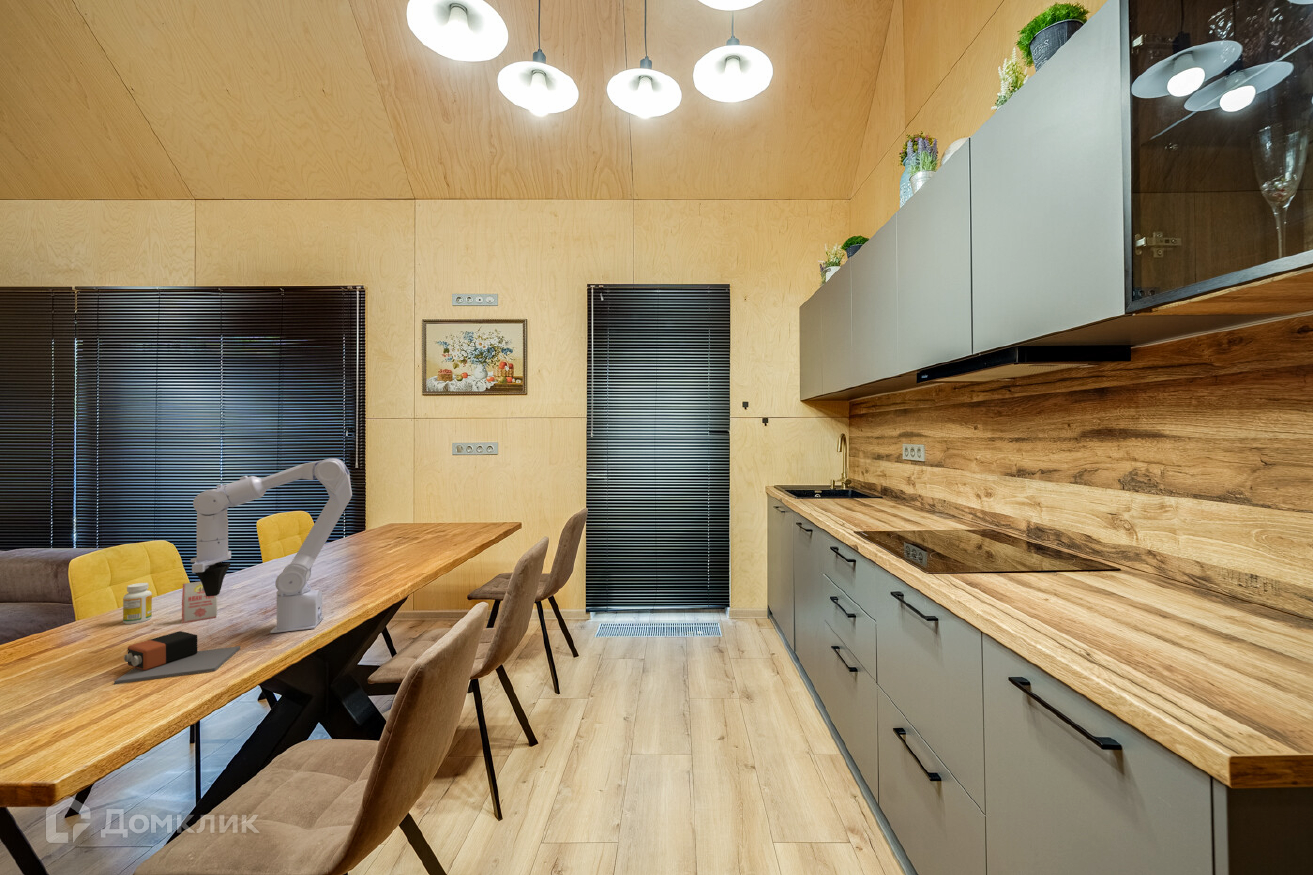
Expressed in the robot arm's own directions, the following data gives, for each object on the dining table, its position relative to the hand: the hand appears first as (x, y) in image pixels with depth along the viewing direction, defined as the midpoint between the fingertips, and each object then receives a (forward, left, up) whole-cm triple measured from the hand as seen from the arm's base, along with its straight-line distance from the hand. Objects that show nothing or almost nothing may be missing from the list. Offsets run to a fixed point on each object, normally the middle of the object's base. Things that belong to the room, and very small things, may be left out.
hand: (212, 595), depth 122 cm
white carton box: (+10, -18, -11) cm, 23 cm away
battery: (0, +9, -8) cm, 12 cm away
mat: (-1, +16, -10) cm, 19 cm away
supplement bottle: (+25, -22, -11) cm, 35 cm away
